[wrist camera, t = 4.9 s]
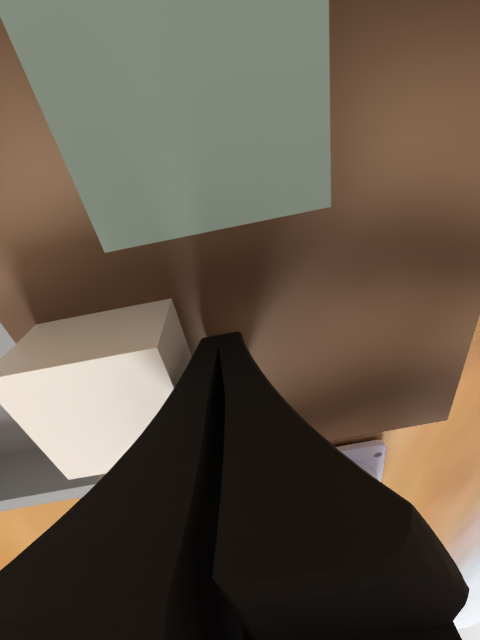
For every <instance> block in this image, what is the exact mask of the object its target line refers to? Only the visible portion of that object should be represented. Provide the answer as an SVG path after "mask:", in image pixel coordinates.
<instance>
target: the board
mask: <svg viewBox="0 0 480 640" xmlns="http://www.w3.org/2000/svg"><path fill="white" fill-rule="evenodd" d="M329 58H330V150H331V207H328V208H323V209H318V210H313V211H308V212H303V213H298V214H293V215H289V216H284V217H279V218H274V219H269V220H264V221H259V222H254V223H249V224H244V225H239V226H234V227H230V228H225V229H220V230H215V231H210V232H205V233H200V234H195V235H190V236H185V237H180V238H175V239H171V240H166V241H161V242H156V243H151V244H146V245H141V246H136V247H131V248H126V249H121V250H116V251H112V252H107V253H105V252H104V250H103V248H102V245H101V243H100V241H99V239H98V236H97V234H96V232H95V230H94V227H93V225H92V223H91V221H90V218H89V216H88V214H87V211H86V209H85V207H84V205H83V202H82V200H81V198H80V196H79V193H78V191H77V189H76V187H75V184H74V182H73V180H72V178H71V175H70V173H69V171H68V169H67V166H66V164H65V162H64V160H63V157H62V155H61V153H60V151H59V148H58V146H57V144H56V141H55V139H54V137H53V135H52V132H51V130H50V128H49V126H48V123H47V121H46V119H45V117H44V114H43V112H42V110H41V108H40V105H39V103H38V101H37V99H36V96H35V94H34V92H33V90H32V87H31V85H30V83H29V81H28V78H27V76H26V74H25V71H24V69H23V67H22V65H21V62H20V60H19V58H18V56H17V53H16V51H15V49H14V47H13V44H12V42H11V40H10V38H9V35H8V33H7V31H6V29H5V26H4V24H3V22H2V20H1V17H0V323H1V324H2V326H3V327H4V328H5V330H6V331H7V332H8V334H9V335H10V336H11V338H12V339H13V340H14V342H15V343H16V344H17V343H18V342H19V341H20V340H21V339H22V338H23V337H24V336H25V335H26V334H27V333H28V332H29V331H30V330H31V329H32V328H33V327H34V326H35V325H36V324H41V323H46V322H51V321H56V320H61V319H66V318H72V317H77V316H82V315H87V314H92V313H98V312H103V311H108V310H113V309H118V308H124V307H129V306H134V305H139V304H144V303H150V302H155V301H160V300H165V299H171V298H172V301H173V304H174V306H175V309H176V312H177V315H178V318H179V321H180V324H181V327H182V330H183V333H184V336H185V338H186V341H187V344H188V347H189V350H190V353H191V356H193V354H194V352H195V350H196V348H197V346H198V344H199V342H200V340H201V339H202V338H205V337H210V336H216V335H221V334H226V333H232V332H237V331H238V332H240V333H242V336H243V340H244V342H245V345H246V347H247V349H248V350H249V352H250V354H251V356H252V357H253V359H254V361H255V362H256V363H257V365H258V366H259V368H260V369H261V371H262V372H263V374H264V375H265V376H266V378H267V379H268V380H269V381H270V383H271V384H272V385H273V386H274V388H275V389H276V390H277V391H278V392H279V394H280V395H281V396H282V397H283V398H284V399H285V400H286V401H287V403H288V404H289V405H290V406H291V407H292V408H293V409H294V410H295V411H296V412H297V413H298V414H299V415H300V416H301V417H302V418H303V419H304V420H305V421H306V422H307V423H308V424H309V425H310V426H312V427H313V428H314V429H315V430H316V431H317V432H319V433H320V434H321V435H322V436H323V437H324V438H325V439H327V440H328V441H332V440H338V439H343V438H349V437H355V436H360V435H366V434H372V433H377V432H383V431H388V430H394V429H400V428H405V427H411V426H416V425H422V424H428V423H433V422H439V421H445V420H447V419H448V416H449V413H450V409H451V406H452V403H453V400H454V396H455V393H456V390H457V386H458V383H459V380H460V377H461V373H462V370H463V367H464V364H465V360H466V357H467V354H468V351H469V347H470V344H471V341H472V338H473V334H474V331H475V328H476V325H477V321H478V318H479V315H480V0H329Z"/></svg>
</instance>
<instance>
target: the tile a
mask: <svg viewBox="0 0 480 640" xmlns="http://www.w3.org/2000/svg"><path fill="white" fill-rule="evenodd" d="M191 358H192V356H191V353H190V350H189V347H188V344H187V341H186V338H185V336H184V333H183V330H182V327H181V324H180V321H179V318H178V315H177V312H176V309H175V306H174V304H173V301H172V298H171V299H165V300H160V301H155V302H150V303H144V304H139V305H134V306H129V307H124V308H118V309H113V310H108V311H103V312H98V313H92V314H87V315H82V316H77V317H72V318H66V319H61V320H56V321H51V322H46V323H41V324H36V325H35V326H34V327H33V328H32V329H31V330H30V331H29V332H28V333H27V334H26V335H25V336H24V337H23V338H22V339H21V340H20V341H19V342H18V343H17V344H16V345H15V346H14V347H13V348H12V349H11V350H10V351H9V352H8V353H7V354H6V355H5V356H4V357H3V358H2V359H1V360H0V404H1V406H2V407H3V408H4V409H5V410H6V411H7V412H8V413H9V414H10V416H11V417H12V418H13V419H14V420H15V421H16V422H17V423H18V424H19V426H20V427H21V428H22V429H23V430H24V431H25V432H26V433H27V434H28V435H29V437H30V438H31V439H32V440H33V441H34V442H35V443H36V444H37V445H38V447H39V448H40V449H41V450H42V451H43V452H44V453H45V454H46V455H47V457H48V458H49V459H50V460H51V461H52V462H53V463H54V464H55V465H56V467H57V468H58V469H59V470H60V471H61V472H62V473H63V474H64V475H65V476H66V478H67V479H68V480H71V479H76V478H82V477H88V476H94V475H100V474H106V473H107V472H108V471H109V470H110V469H111V468H112V467H113V466H114V465H115V464H116V462H117V461H118V460H119V459H120V458H121V457H122V456H123V455H124V454H125V452H126V451H127V450H128V449H129V448H130V447H131V446H132V445H133V443H134V442H135V441H136V440H137V439H138V437H139V436H140V435H141V434H142V433H143V431H144V430H145V429H146V427H147V426H148V425H149V424H150V422H151V421H152V420H153V418H154V417H155V416H156V414H157V413H158V411H159V410H160V409H161V407H162V406H163V404H164V403H165V401H166V400H167V398H168V397H169V395H170V394H171V392H172V391H173V389H174V387H175V386H176V384H177V383H178V381H179V379H180V377H181V376H182V374H183V372H184V371H185V369H186V367H187V365H188V363H189V362H190V360H191Z"/></svg>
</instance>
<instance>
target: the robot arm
mask: <svg viewBox="0 0 480 640" xmlns="http://www.w3.org/2000/svg"><path fill="white" fill-rule="evenodd" d="M385 455H386V445H385V443H384V442H383V441H382V440H372V441H366V442H361V443H355V444H350V445H344V446H338V447H335V446H333V445H332V444H331V443H330V442H329V441H328V440H327V439H325V438H324V437H323V436H322V435H321V434H320V433H319V432H317V431H316V430H315V429H314V428H313V427H312V426H310V425H309V424H308V423H307V422H306V421H305V420H304V419H303V418H302V417H301V416H300V415H299V414H298V413H297V412H296V411H295V410H294V409H293V408H292V407H291V406H290V405H289V404H288V403H287V401H286V400H285V399H284V398H283V397H282V396H281V395H280V394H279V392H278V391H277V390H276V389H275V388H274V386H273V385H272V384H271V383H270V381H269V380H268V379H267V378H266V376H265V375H264V374H263V372H262V371H261V369H260V368H259V366H258V365H257V363H256V362H255V361H254V359H253V357H252V356H251V354H250V352H249V350H248V349H247V347H246V345H245V342H244V340H243V336H242V333H240V332H238V331H237V332H232V333H226V334H221V335H216V336H210V337H205V338H202V339H201V340H200V342H199V344H198V346H197V348H196V350H195V352H194V354H193V356H192V358H191V360H190V362H189V363H188V365H187V367H186V369H185V371H184V372H183V374H182V376H181V377H180V379H179V381H178V383H177V384H176V386H175V387H174V389H173V391H172V392H171V394H170V395H169V397H168V398H167V400H166V401H165V403H164V404H163V406H162V407H161V409H160V410H159V411H158V413H157V414H156V416H155V417H154V418H153V420H152V421H151V422H150V424H149V425H148V426H147V427H146V429H145V430H144V431H143V433H142V434H141V435H140V436H139V437H138V439H137V440H136V441H135V442H134V443H133V445H132V446H131V447H130V448H129V449H128V450H127V451H126V452H125V454H124V455H123V456H122V457H121V458H120V459H119V460H118V461H117V462H116V464H115V465H114V466H113V467H112V468H111V469H110V470H109V471H108V472H107V473H106V474H105V475H104V476H103V477H102V478H101V479H100V480H99V481H98V482H97V483H96V484H95V485H94V486H93V487H92V489H91V490H90V491H89V492H88V493H86V494H85V495H84V496H83V497H82V498H81V499H80V500H79V501H78V502H77V503H76V504H75V505H74V506H73V507H72V508H71V509H70V510H69V511H68V512H67V513H65V514H64V515H63V516H62V517H61V518H60V519H59V520H58V521H57V522H56V523H55V524H54V525H52V526H51V527H50V528H49V529H48V530H47V531H46V532H44V533H43V534H42V535H41V536H40V537H39V538H38V539H36V540H35V541H34V542H33V543H32V544H31V545H30V546H28V547H27V548H26V549H25V550H24V551H23V552H22V553H20V554H19V555H18V556H17V557H16V558H15V559H14V560H12V561H11V562H10V563H9V564H8V565H7V566H5V567H4V568H3V569H2V570H1V571H0V640H462V639H461V637H460V635H459V633H458V631H457V629H456V627H455V625H454V623H453V620H454V619H455V617H456V616H457V615H458V613H459V612H460V611H461V609H462V608H463V607H464V605H465V604H466V601H467V598H468V593H469V588H468V586H467V584H466V583H465V581H464V579H463V577H462V574H461V572H460V571H459V569H458V567H457V565H456V564H455V562H454V560H453V559H452V558H451V556H450V555H449V553H448V552H447V550H446V549H445V547H444V546H443V544H442V543H441V541H440V540H439V539H438V537H437V536H436V534H435V533H434V532H433V530H432V529H431V528H430V526H429V525H428V524H427V522H426V521H425V520H424V519H423V517H422V516H421V515H420V513H419V512H418V511H417V510H416V508H415V507H414V506H413V505H412V504H411V503H410V502H408V501H407V500H405V499H404V498H402V497H401V496H400V495H398V494H397V493H395V492H394V491H392V490H391V489H390V488H388V487H387V486H385V485H384V484H383V483H381V482H382V475H383V468H384V461H385Z"/></svg>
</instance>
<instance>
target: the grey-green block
mask: <svg viewBox="0 0 480 640" xmlns="http://www.w3.org/2000/svg"><path fill="white" fill-rule="evenodd" d="M0 17H1V20H2V22H3V24H4V26H5V29H6V31H7V33H8V35H9V38H10V40H11V42H12V44H13V47H14V49H15V51H16V53H17V56H18V58H19V60H20V62H21V65H22V67H23V69H24V71H25V74H26V76H27V78H28V81H29V83H30V85H31V87H32V90H33V92H34V94H35V96H36V99H37V101H38V103H39V105H40V108H41V110H42V112H43V114H44V117H45V119H46V121H47V123H48V126H49V128H50V130H51V132H52V135H53V137H54V139H55V141H56V144H57V146H58V148H59V151H60V153H61V155H62V157H63V160H64V162H65V164H66V166H67V169H68V171H69V173H70V175H71V178H72V180H73V182H74V184H75V187H76V189H77V191H78V193H79V196H80V198H81V200H82V202H83V205H84V207H85V209H86V211H87V214H88V216H89V218H90V221H91V223H92V225H93V227H94V230H95V232H96V234H97V236H98V239H99V241H100V243H101V245H102V248H103V250H104V252H105V253H107V252H112V251H116V250H121V249H126V248H131V247H136V246H141V245H146V244H151V243H156V242H161V241H166V240H171V239H175V238H180V237H185V236H190V235H195V234H200V233H205V232H210V231H215V230H220V229H225V228H230V227H234V226H239V225H244V224H249V223H254V222H259V221H264V220H269V219H274V218H279V217H284V216H289V215H293V214H298V213H303V212H308V211H313V210H318V209H323V208H328V207H331V150H330V58H329V0H0Z"/></svg>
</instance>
